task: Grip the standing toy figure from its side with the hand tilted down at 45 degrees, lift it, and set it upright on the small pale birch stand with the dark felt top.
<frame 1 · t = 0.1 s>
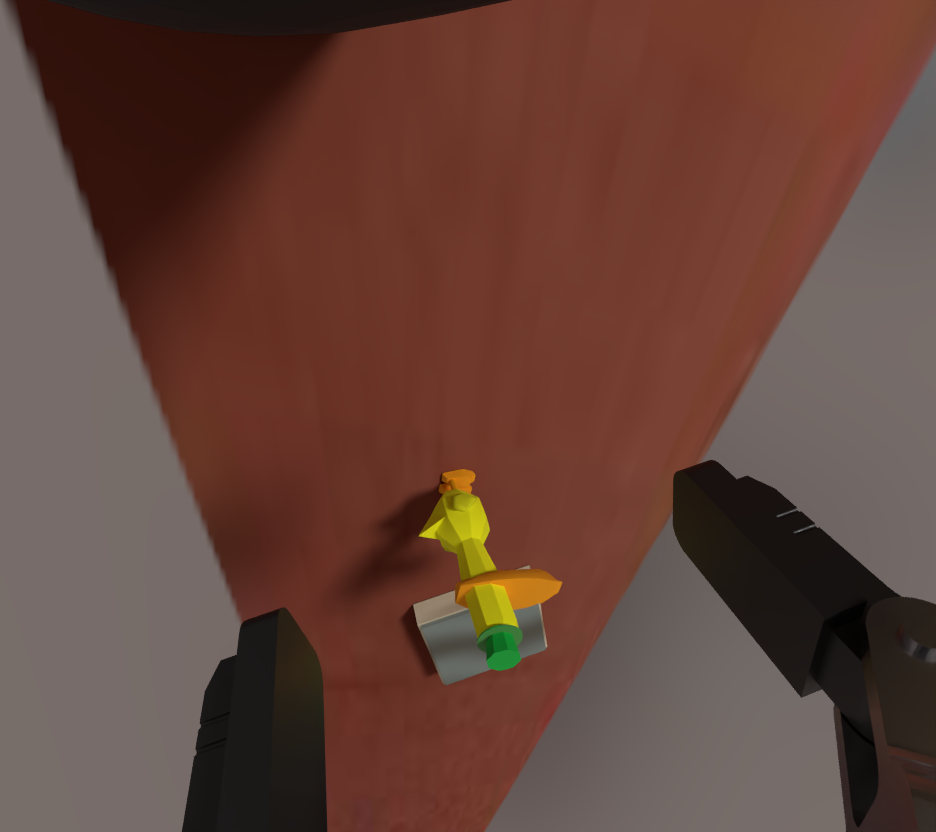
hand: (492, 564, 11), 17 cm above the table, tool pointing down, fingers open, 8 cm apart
toy figure: (457, 479, 33), on the table
stand: (481, 617, 42), on the table
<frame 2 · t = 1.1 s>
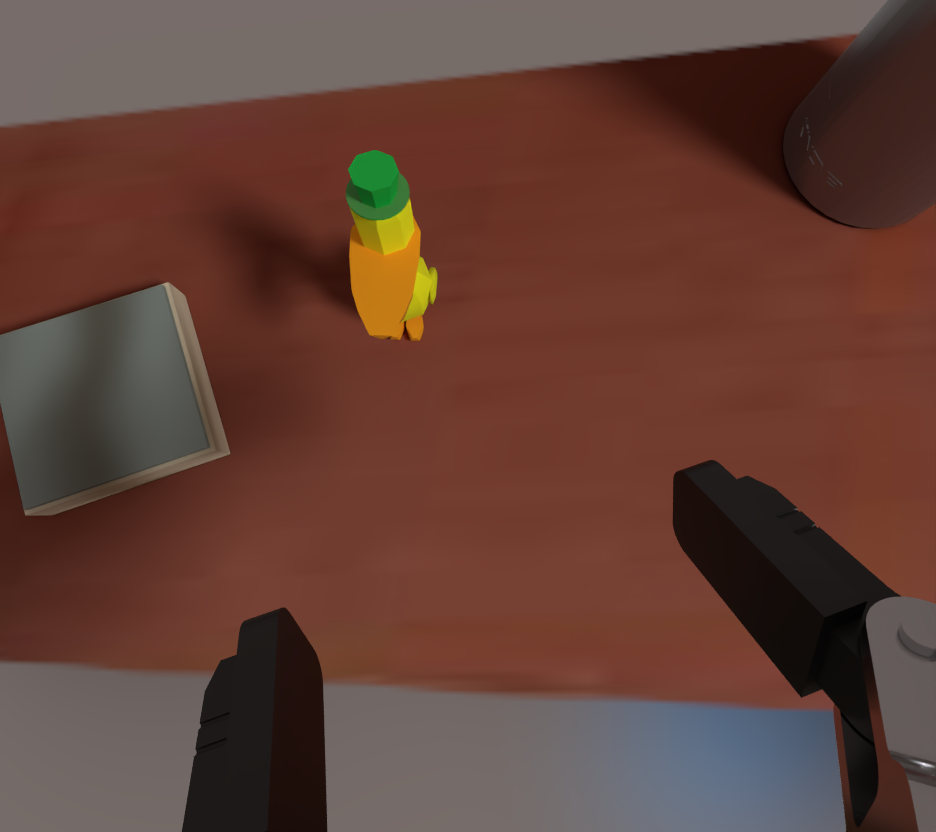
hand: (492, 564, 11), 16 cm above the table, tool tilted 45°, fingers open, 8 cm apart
toy figure: (405, 327, 29), on the table
stand: (121, 401, 28), on the table
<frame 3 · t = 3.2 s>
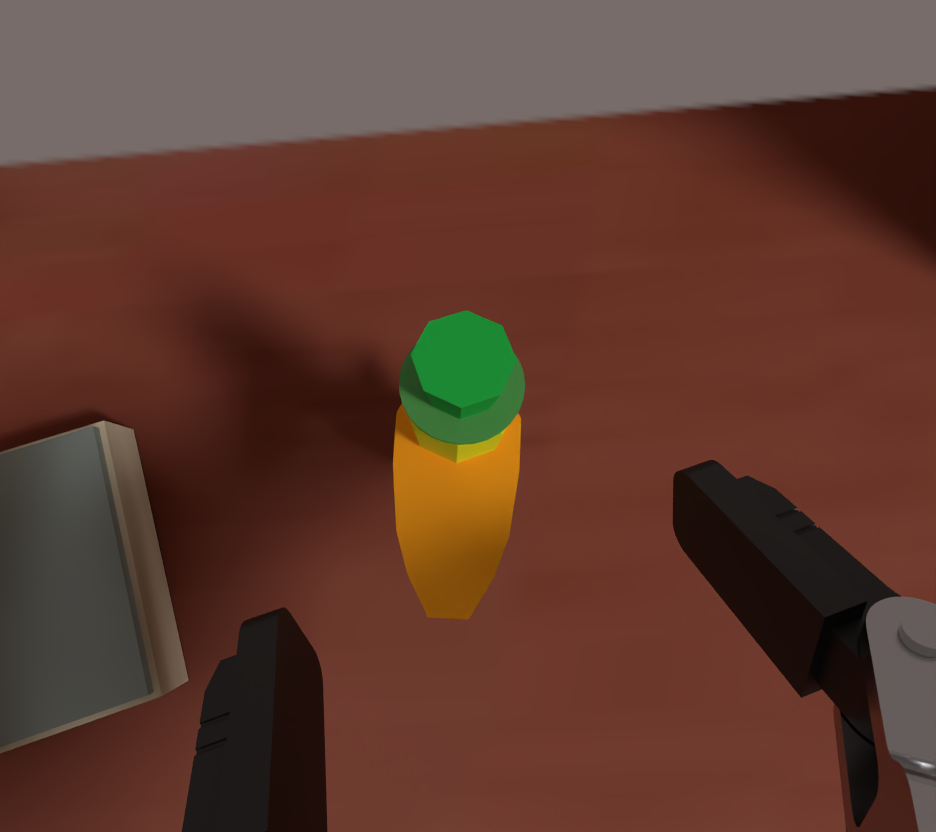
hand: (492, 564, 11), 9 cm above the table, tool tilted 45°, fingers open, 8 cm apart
toy figure: (453, 482, 20), on the table
stand: (28, 592, 18), on the table
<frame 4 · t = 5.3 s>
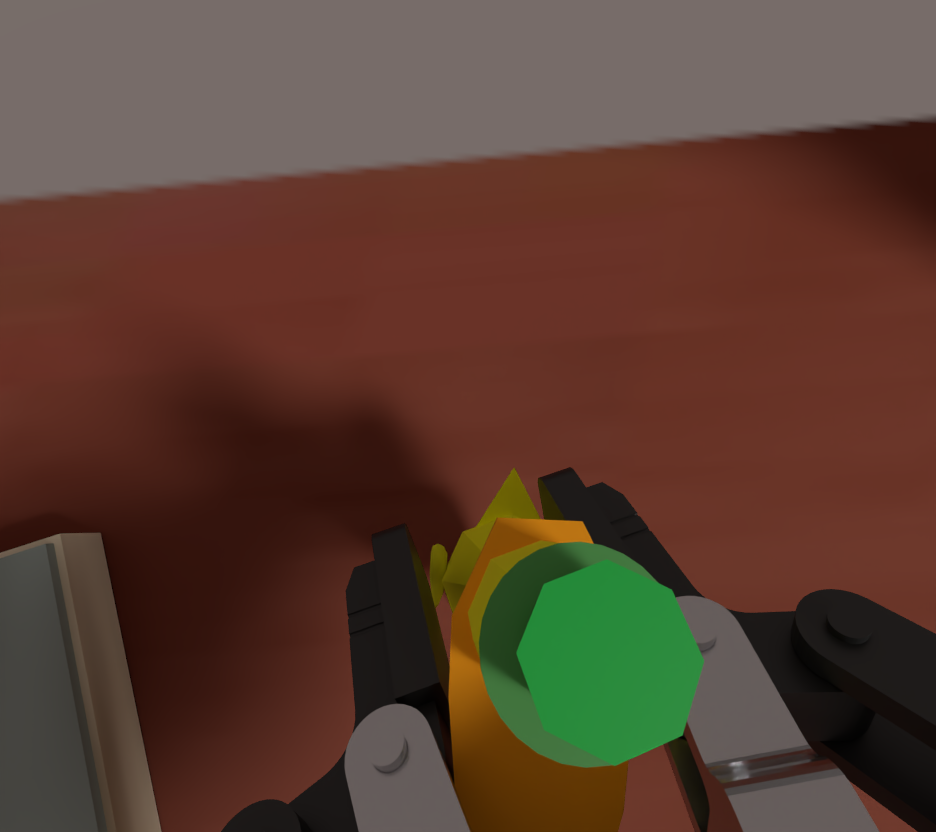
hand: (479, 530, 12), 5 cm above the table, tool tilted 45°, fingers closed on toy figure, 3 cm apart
toy figure: (492, 594, 16), on the table, touching gripper
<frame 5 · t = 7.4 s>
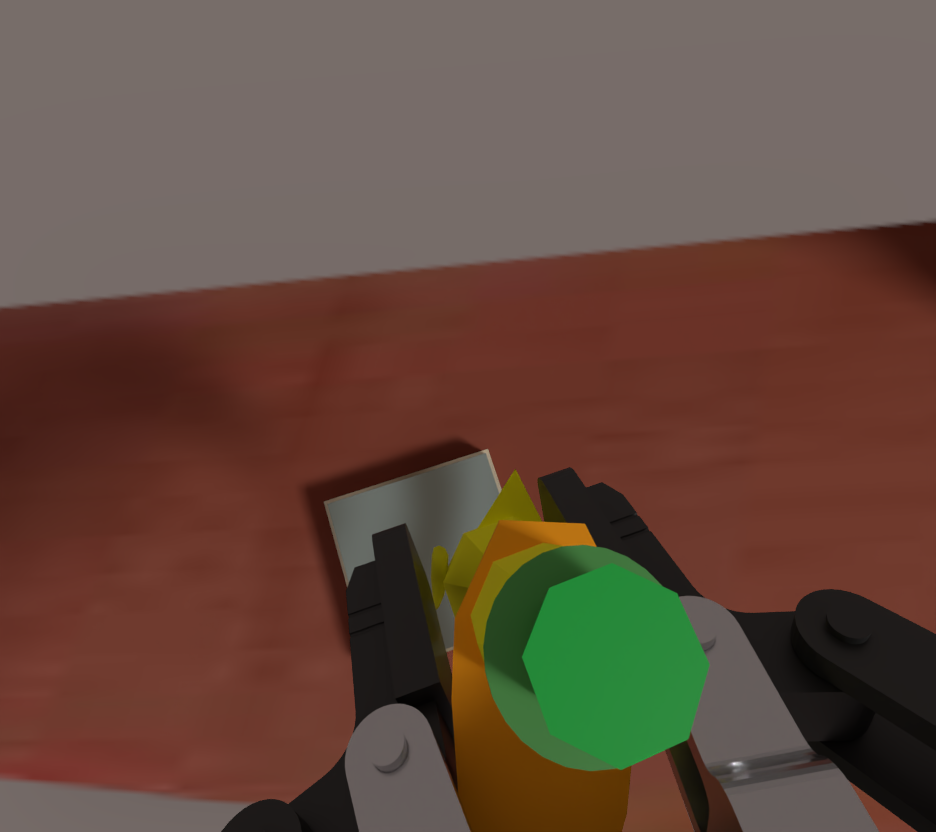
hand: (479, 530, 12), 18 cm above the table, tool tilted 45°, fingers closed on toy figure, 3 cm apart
toy figure: (492, 595, 16), point 13 cm above the table, touching gripper
stand: (433, 556, 29), on the table
when the fingers open (8 cm above the table, at t = 9.8 s): toy figure stays where it is, resting on stand.
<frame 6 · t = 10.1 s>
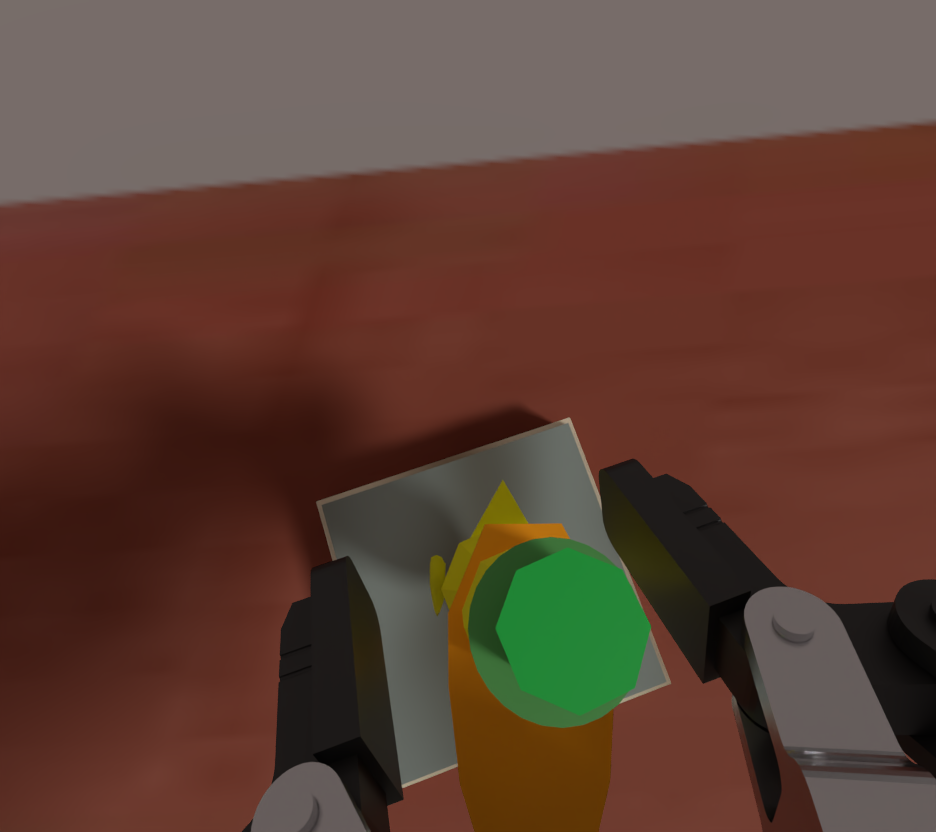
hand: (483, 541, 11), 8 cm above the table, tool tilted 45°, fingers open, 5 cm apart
toy figure: (491, 602, 17), point 2 cm above the table, touching stand
stand: (486, 584, 19), on the table
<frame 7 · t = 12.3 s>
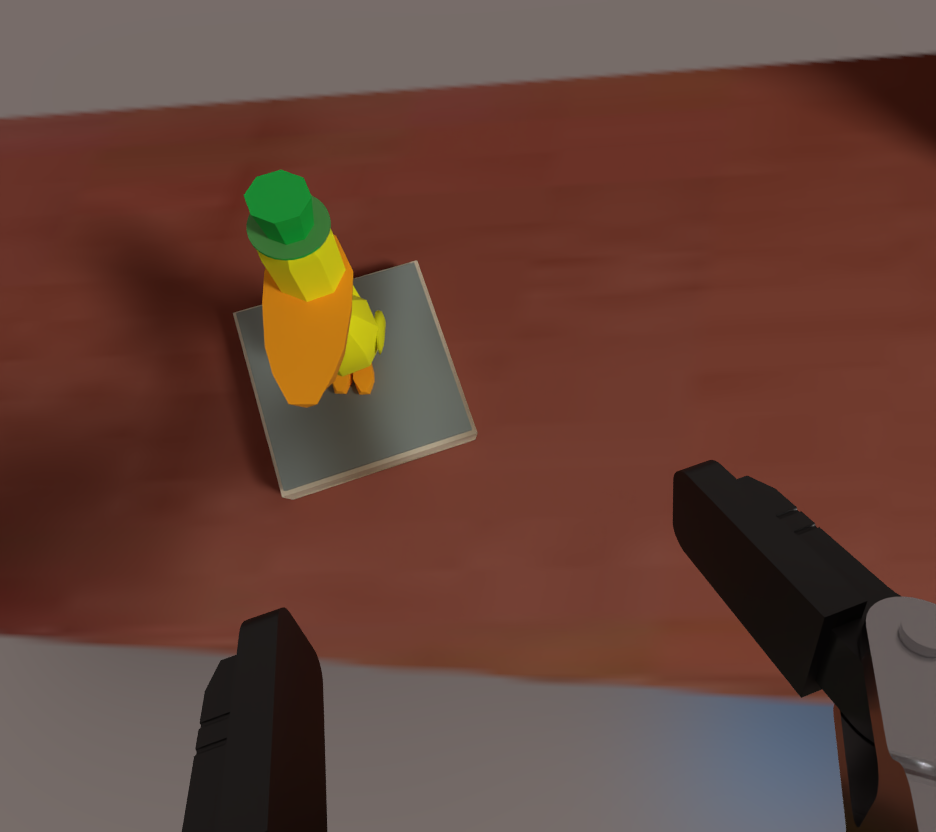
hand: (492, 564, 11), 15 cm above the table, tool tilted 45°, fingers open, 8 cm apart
toy figure: (353, 378, 25), point 2 cm above the table, touching stand
stand: (359, 382, 26), on the table
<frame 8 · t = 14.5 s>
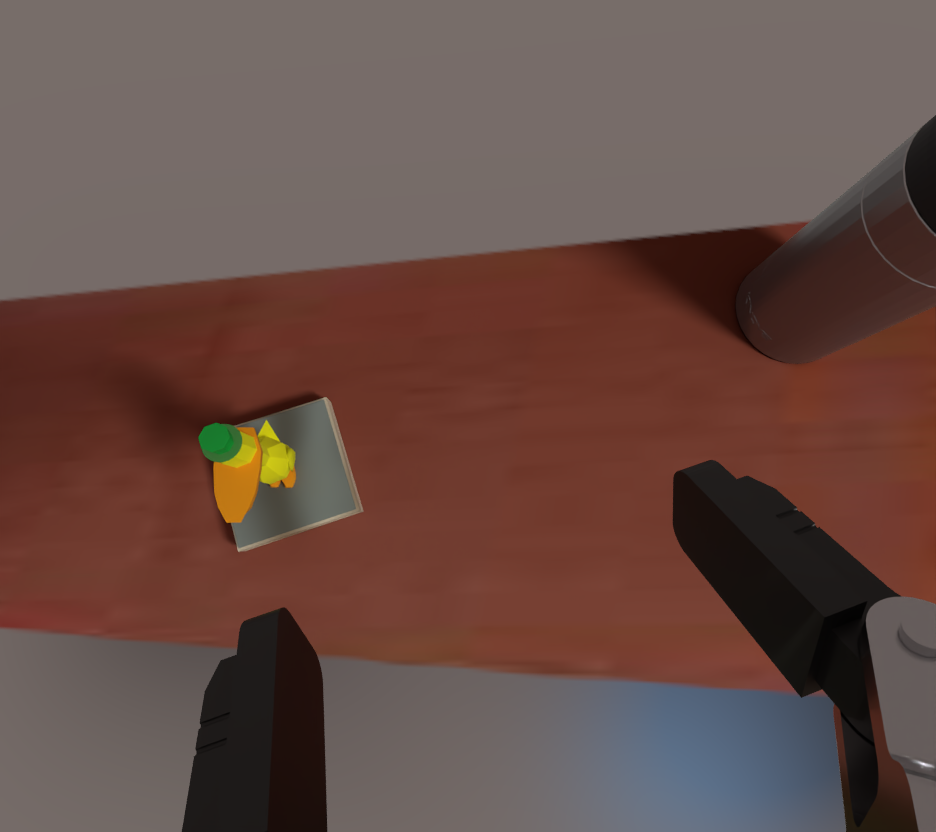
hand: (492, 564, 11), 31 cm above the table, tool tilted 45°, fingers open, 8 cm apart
toy figure: (283, 476, 39), point 2 cm above the table, touching stand
stand: (290, 474, 41), on the table
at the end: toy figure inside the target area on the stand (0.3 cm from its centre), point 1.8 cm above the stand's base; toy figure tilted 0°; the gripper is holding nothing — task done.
